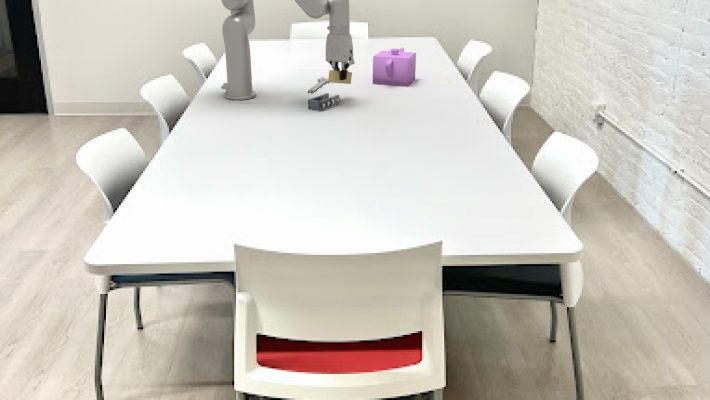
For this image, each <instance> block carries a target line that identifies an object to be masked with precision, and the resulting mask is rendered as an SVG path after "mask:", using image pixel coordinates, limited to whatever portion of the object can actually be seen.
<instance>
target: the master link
mask: <svg viewBox="0 0 710 400" xmlns="http://www.w3.org/2000/svg"><path fill="white" fill-rule="evenodd" d="M352 76H353V72H351V71H349V70H348V69H347V79H345V80H343V81H342V80H341V70H340V71H337V69H334V70H333V69H329V71H328V78H327V79H328V82H331V83H332V84H341V85H342V84H343V85H344V84H345V85H351V83H352Z"/></svg>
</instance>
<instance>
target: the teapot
mask: <svg viewBox="0 0 710 400" xmlns="http://www.w3.org/2000/svg"><path fill="white" fill-rule="evenodd" d="M416 64H417V52H409V51H407V52H406V51H405V47H401V48H390V50H380V51H378V52H377V53H376V54H374V55H373V56H372V85H381V86H382V85H383V86H392V87H394V86H395V87H409V86H410V85H411V84H412V83H413V82H415V81H416V68H417V67H416V66H417V65H416Z"/></svg>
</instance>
